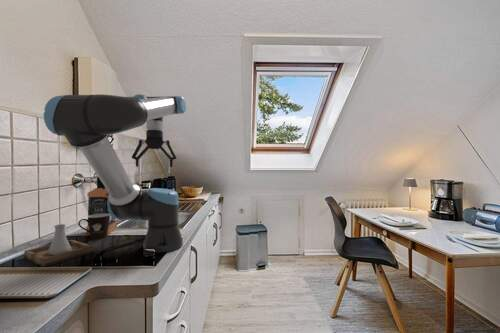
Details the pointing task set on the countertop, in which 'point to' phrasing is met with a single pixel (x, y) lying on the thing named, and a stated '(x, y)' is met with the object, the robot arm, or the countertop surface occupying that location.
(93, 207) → the whiskey bottle
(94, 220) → the coffee mug
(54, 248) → the flask
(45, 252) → the walnut tray
